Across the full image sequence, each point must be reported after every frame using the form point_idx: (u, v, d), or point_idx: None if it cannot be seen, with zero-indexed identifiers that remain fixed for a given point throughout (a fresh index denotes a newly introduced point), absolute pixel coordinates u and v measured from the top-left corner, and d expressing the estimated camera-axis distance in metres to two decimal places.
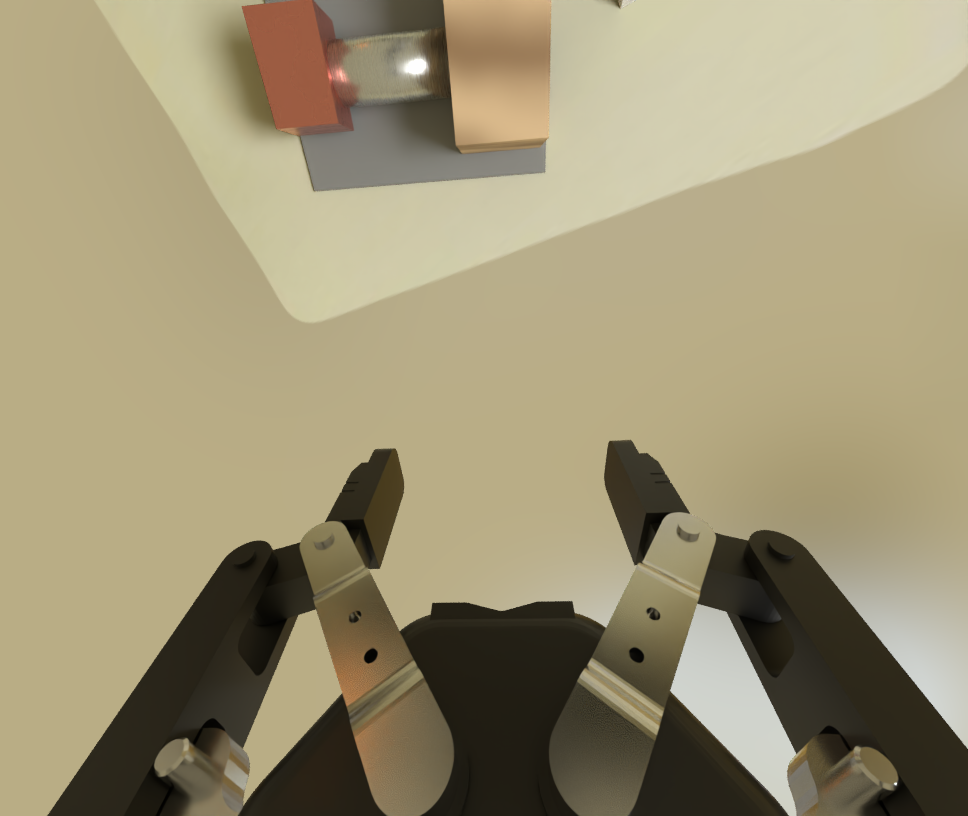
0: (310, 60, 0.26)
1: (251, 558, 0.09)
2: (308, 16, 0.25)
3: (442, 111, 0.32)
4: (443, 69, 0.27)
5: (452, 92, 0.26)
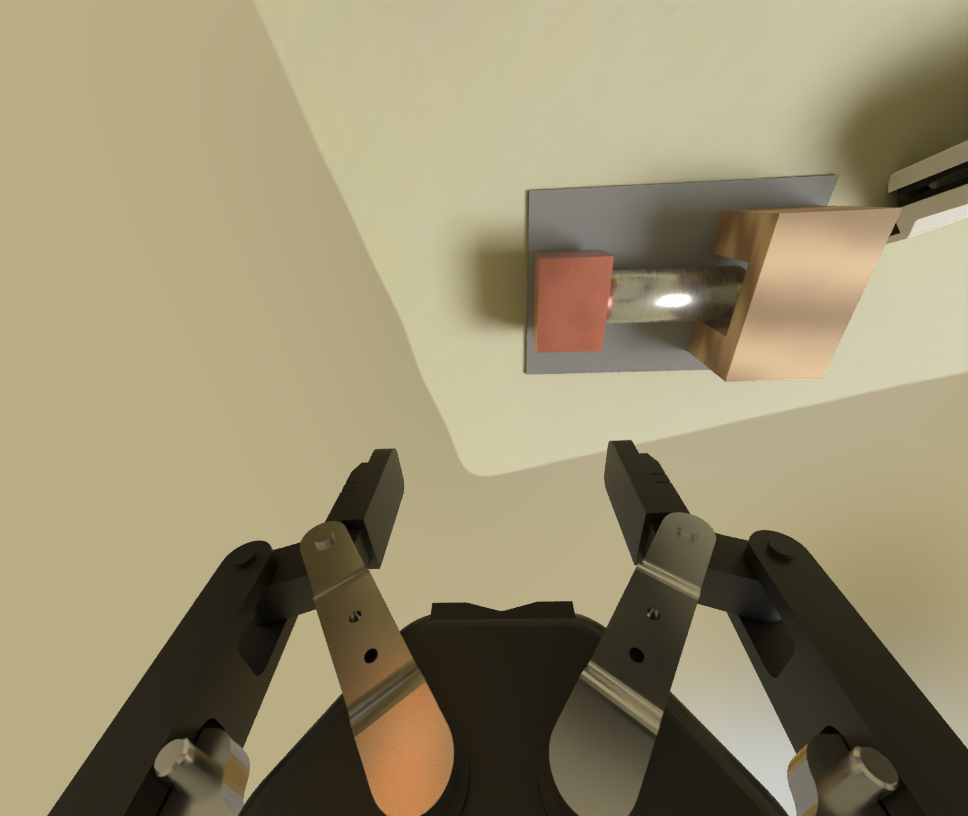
0: (593, 302, 0.26)
1: (251, 558, 0.09)
2: (605, 269, 0.25)
3: None
4: (720, 309, 0.27)
5: (739, 342, 0.26)
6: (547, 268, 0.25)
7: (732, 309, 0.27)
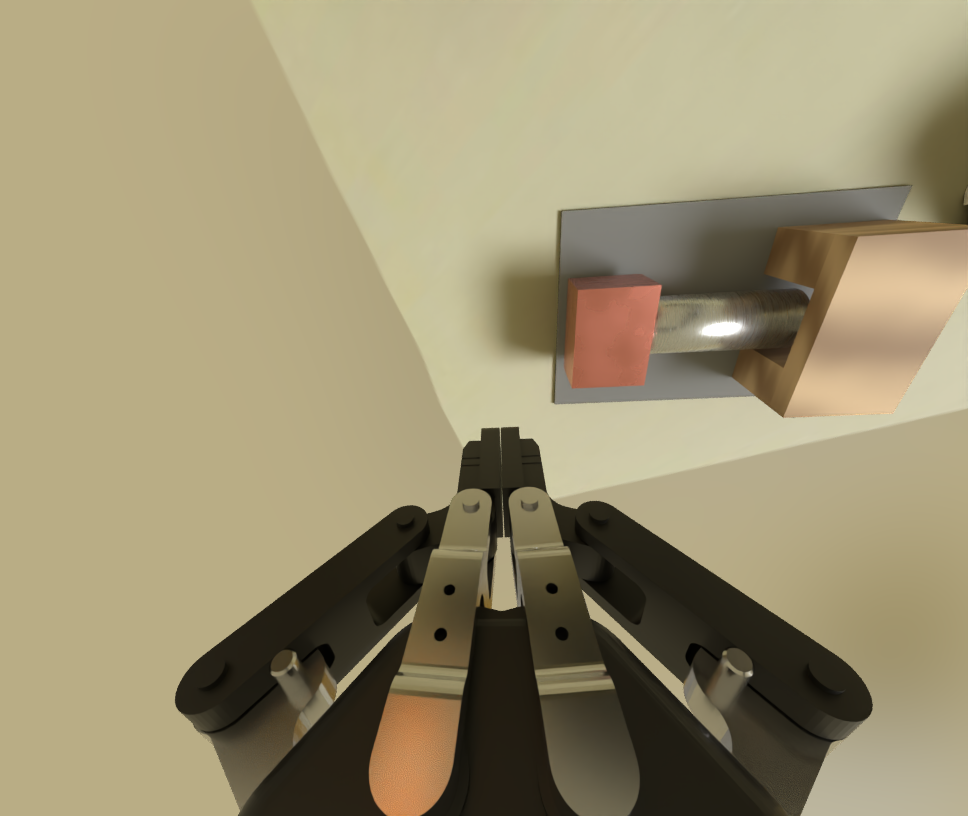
0: (636, 335, 0.23)
1: (411, 520, 0.10)
2: (651, 299, 0.22)
3: None
4: (777, 338, 0.24)
5: (801, 376, 0.23)
6: (586, 299, 0.22)
7: (791, 338, 0.24)
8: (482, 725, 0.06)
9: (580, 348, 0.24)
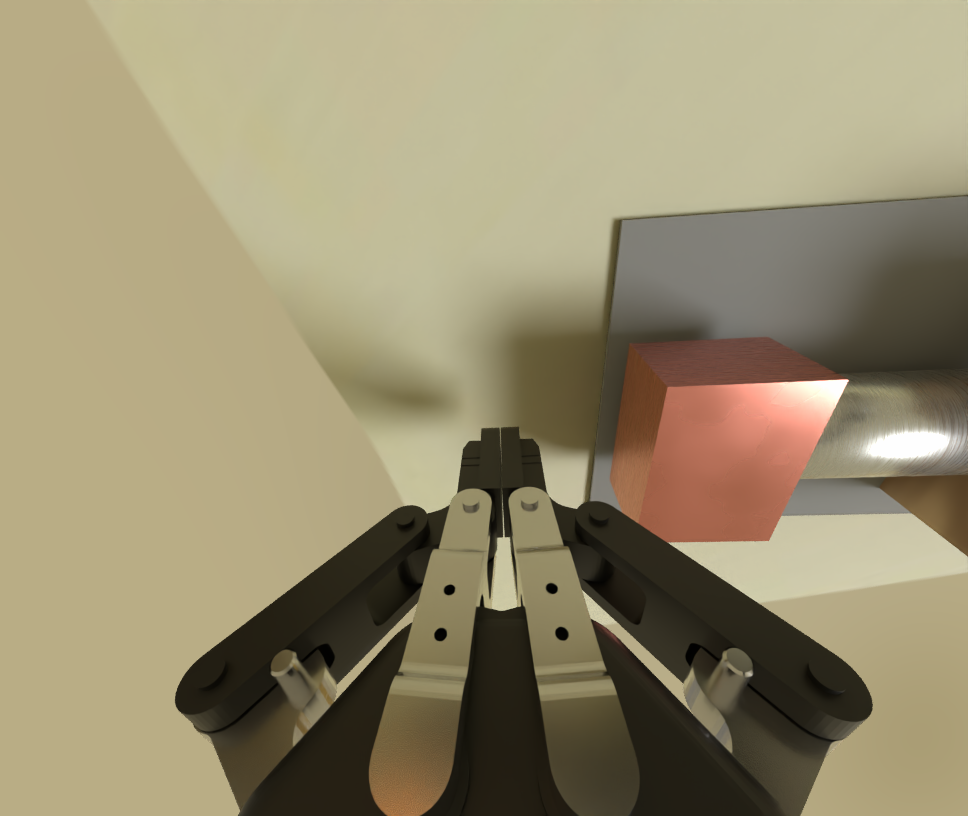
0: (772, 465, 0.12)
1: (411, 520, 0.10)
2: (818, 405, 0.11)
3: None
4: None
5: None
6: (682, 404, 0.11)
7: None
8: (482, 725, 0.06)
9: (658, 484, 0.12)
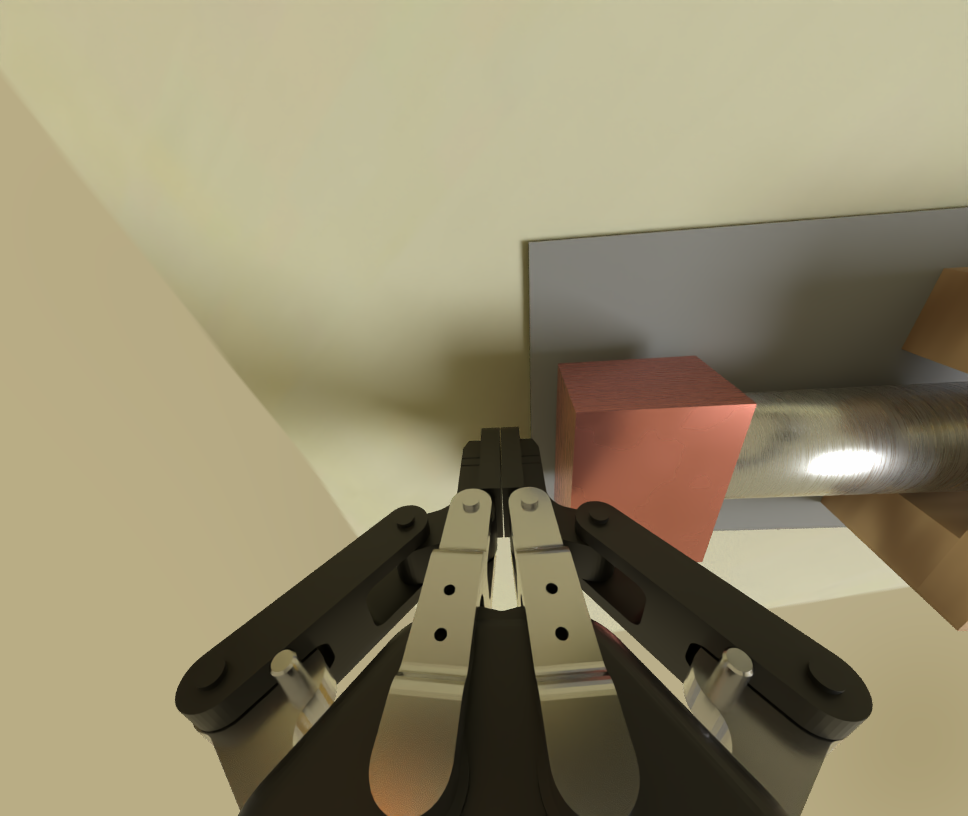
0: (694, 488, 0.12)
1: (411, 520, 0.10)
2: (730, 429, 0.11)
3: None
4: (967, 486, 0.12)
5: None
6: (594, 429, 0.11)
7: None
8: (482, 725, 0.06)
9: None
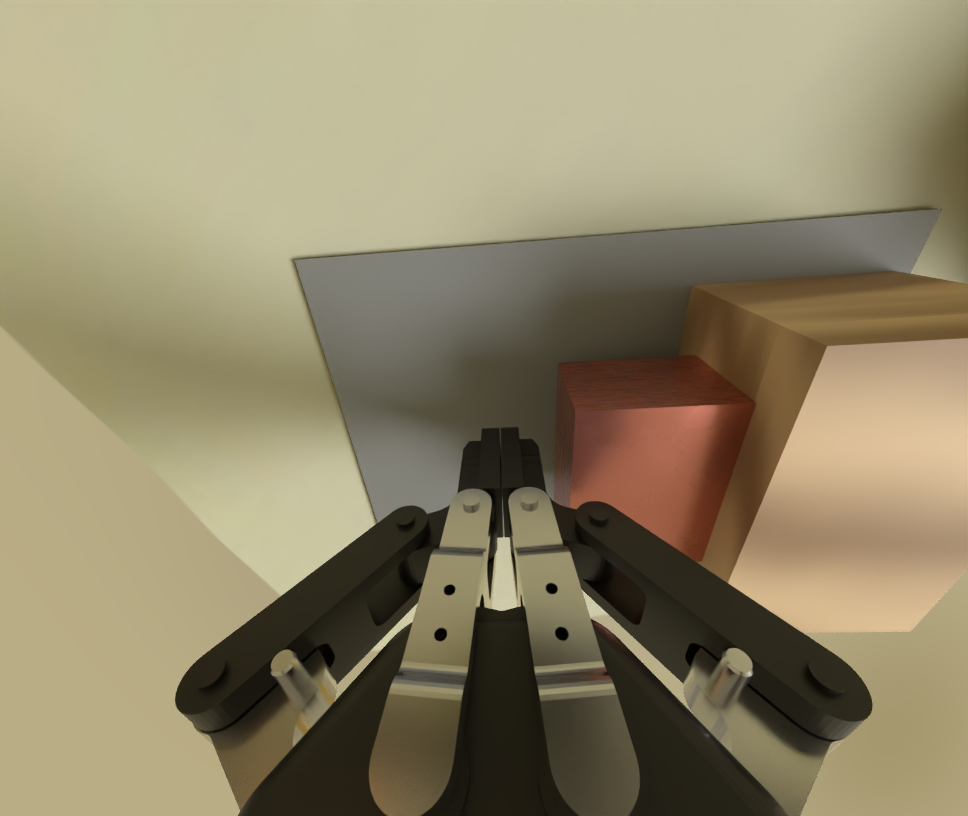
0: (693, 487, 0.12)
1: (412, 520, 0.10)
2: (730, 428, 0.11)
3: None
4: None
5: (731, 580, 0.12)
6: (593, 428, 0.11)
7: None
8: (482, 725, 0.06)
9: None
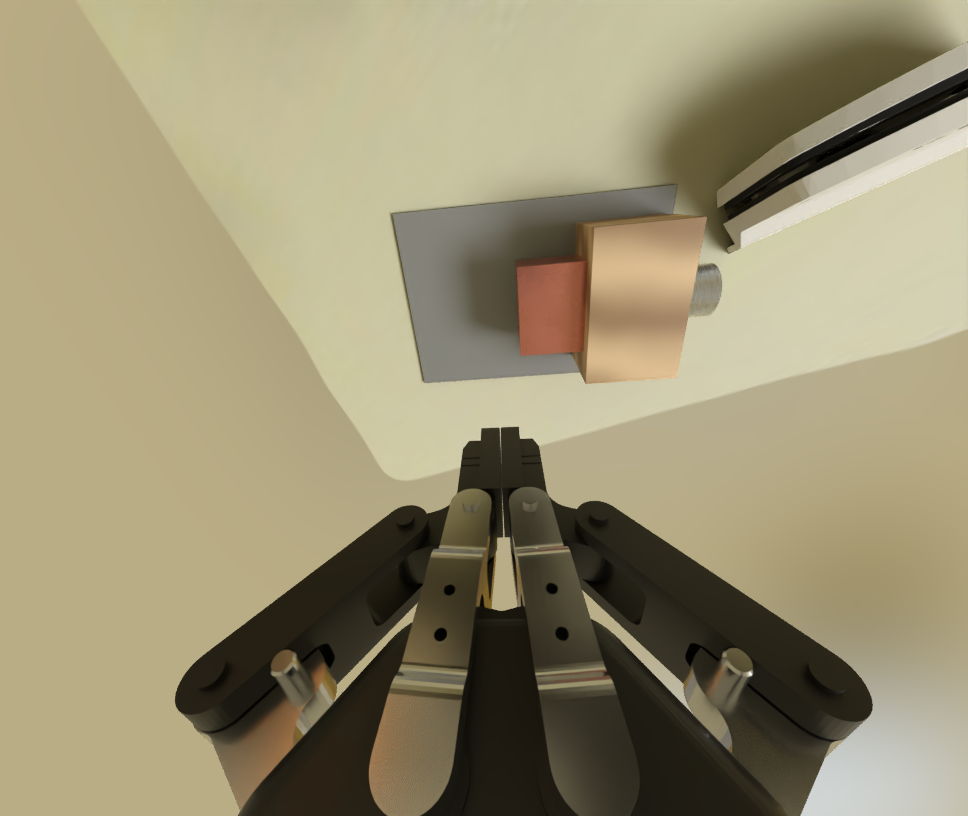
0: (571, 305, 0.27)
1: (411, 520, 0.10)
2: (580, 273, 0.26)
3: None
4: (695, 306, 0.28)
5: (589, 346, 0.27)
6: (525, 275, 0.26)
7: (707, 306, 0.28)
8: (482, 725, 0.06)
9: (524, 319, 0.28)
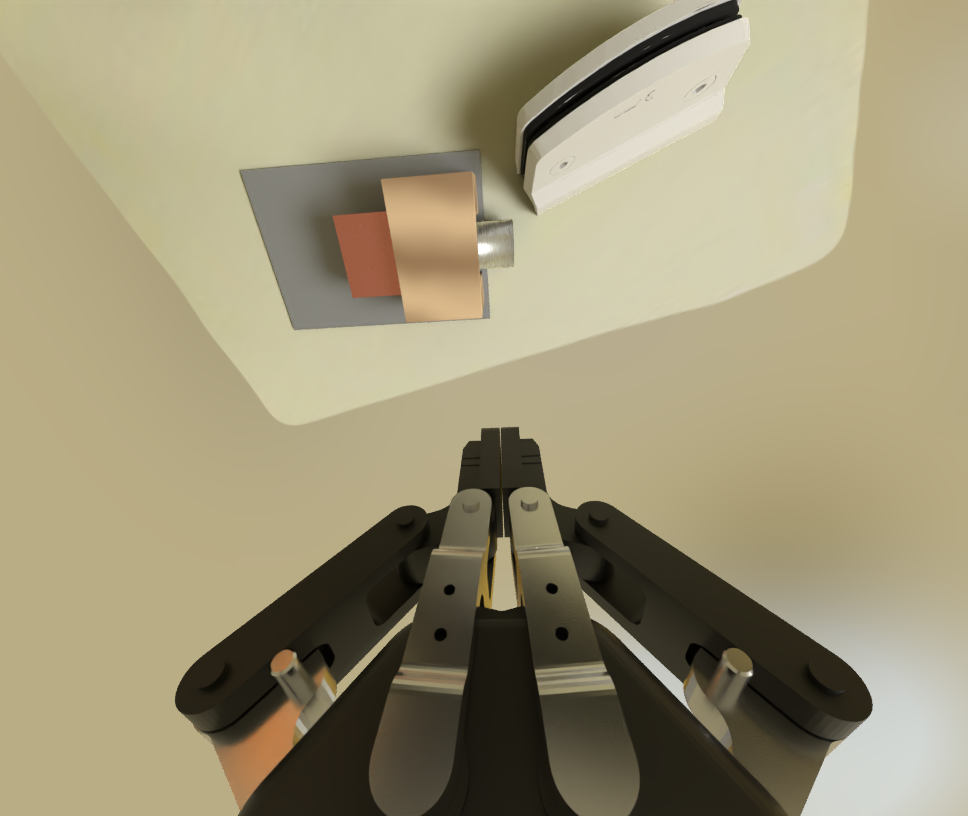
0: (385, 252, 0.32)
1: (411, 520, 0.10)
2: (387, 222, 0.30)
3: None
4: (495, 256, 0.32)
5: (401, 287, 0.32)
6: (340, 223, 0.31)
7: (505, 256, 0.32)
8: (482, 725, 0.06)
9: (348, 263, 0.32)
